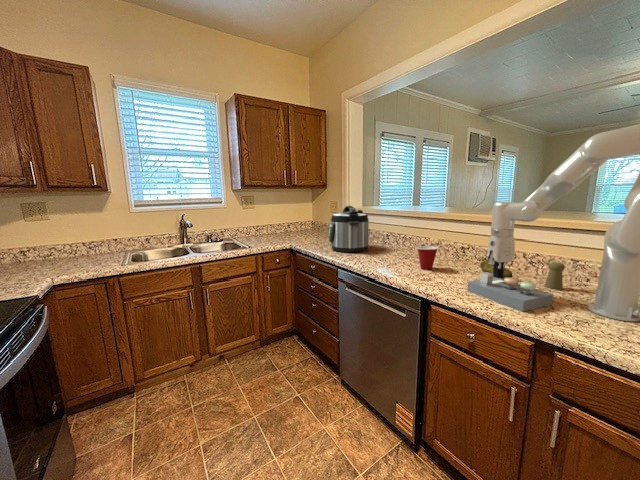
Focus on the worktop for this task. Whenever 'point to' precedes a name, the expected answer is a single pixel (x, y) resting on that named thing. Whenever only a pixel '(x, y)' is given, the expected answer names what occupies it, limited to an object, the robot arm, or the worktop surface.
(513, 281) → the peach knob
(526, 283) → the sage button
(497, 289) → the panel
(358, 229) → the pressure cooker
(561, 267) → the cork
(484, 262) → the potato
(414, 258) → the worktop surface
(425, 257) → the plastic cup
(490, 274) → the slider knob
